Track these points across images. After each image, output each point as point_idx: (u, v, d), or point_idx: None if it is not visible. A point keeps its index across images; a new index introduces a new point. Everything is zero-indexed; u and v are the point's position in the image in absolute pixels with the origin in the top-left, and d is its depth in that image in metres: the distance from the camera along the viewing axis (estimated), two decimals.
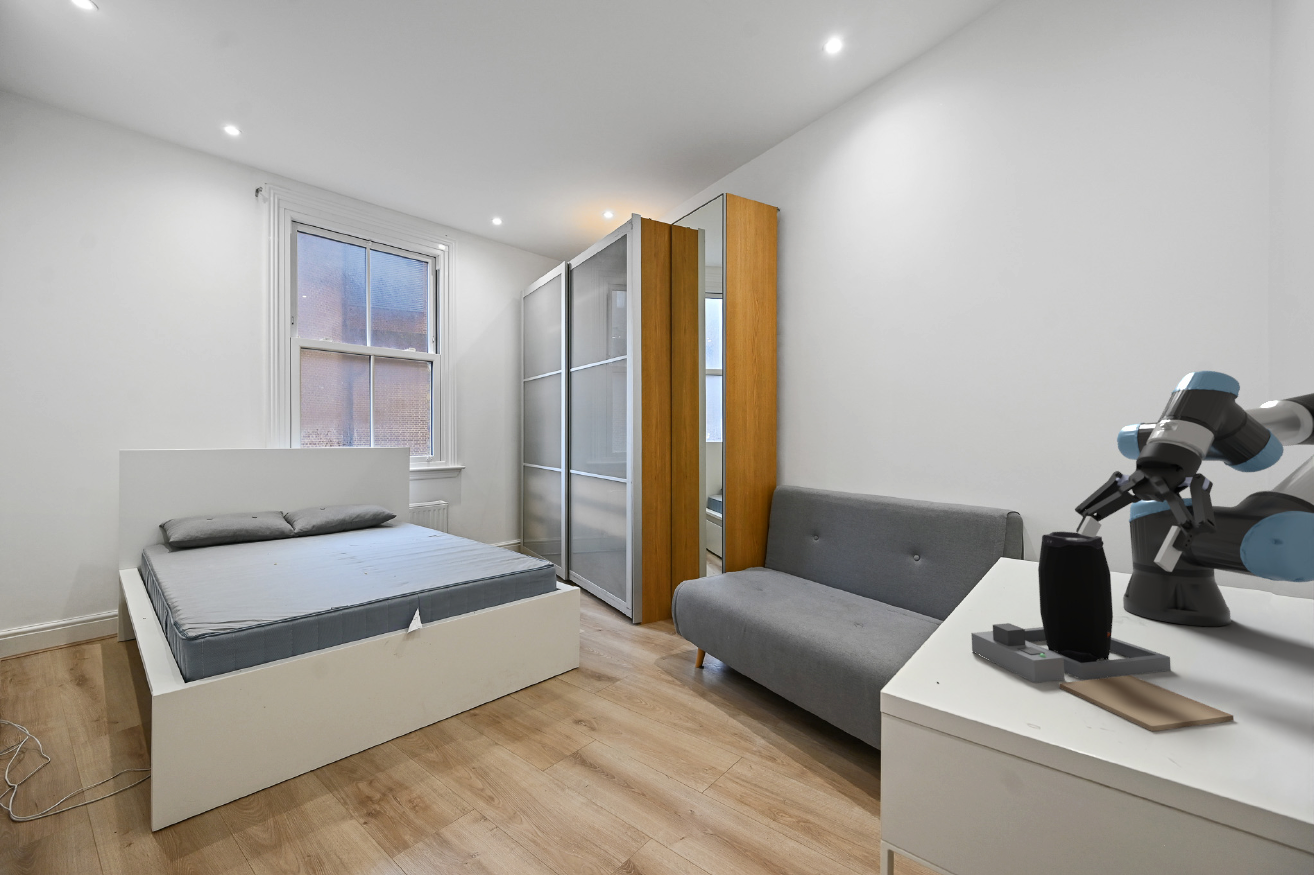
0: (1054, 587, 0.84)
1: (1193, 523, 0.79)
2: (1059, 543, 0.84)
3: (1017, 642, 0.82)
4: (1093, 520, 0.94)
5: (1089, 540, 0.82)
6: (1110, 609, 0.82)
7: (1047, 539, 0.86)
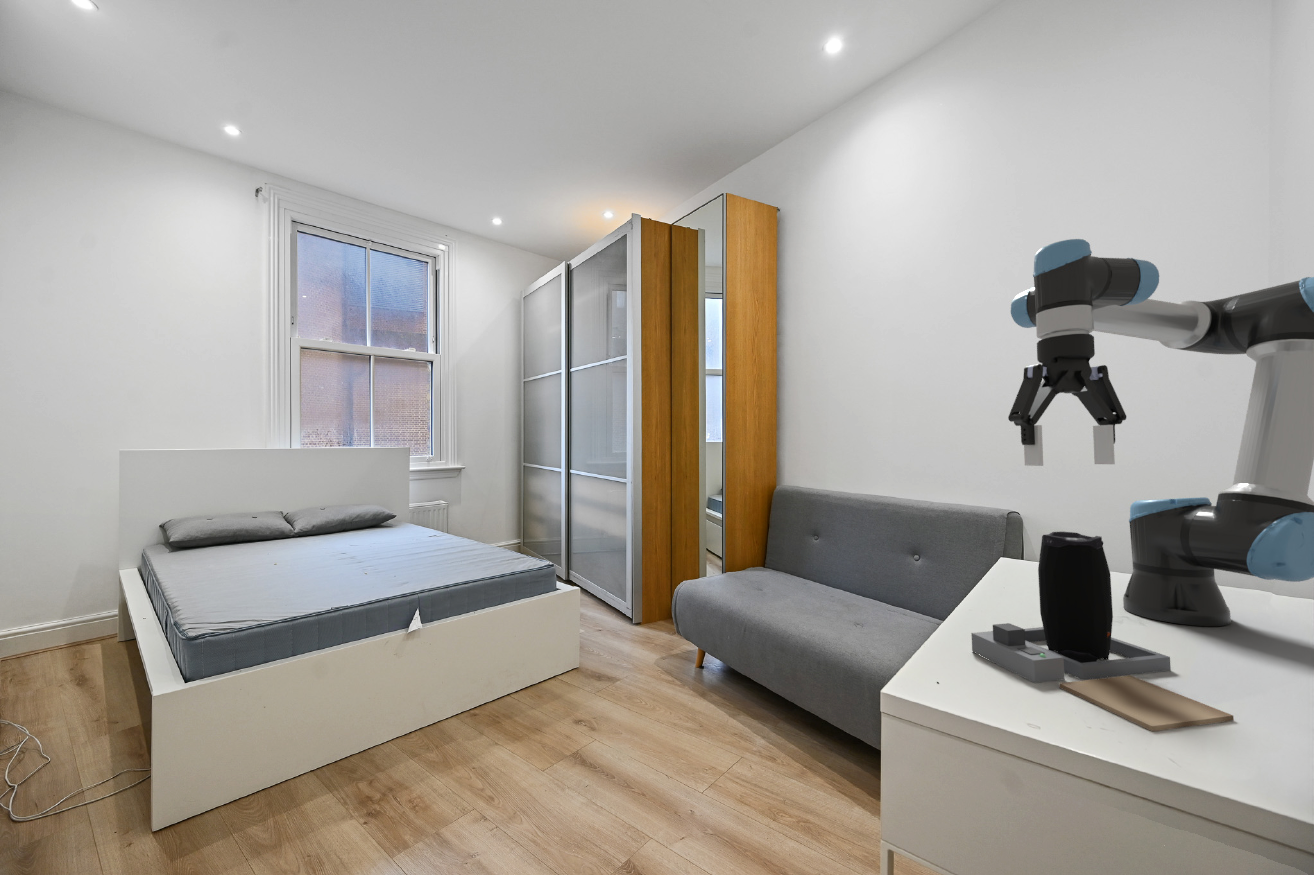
0: (1054, 587, 0.84)
1: None
2: (1059, 543, 0.84)
3: (1017, 642, 0.82)
4: (1097, 427, 0.88)
5: (1089, 540, 0.82)
6: (1110, 609, 0.82)
7: (1046, 539, 0.86)
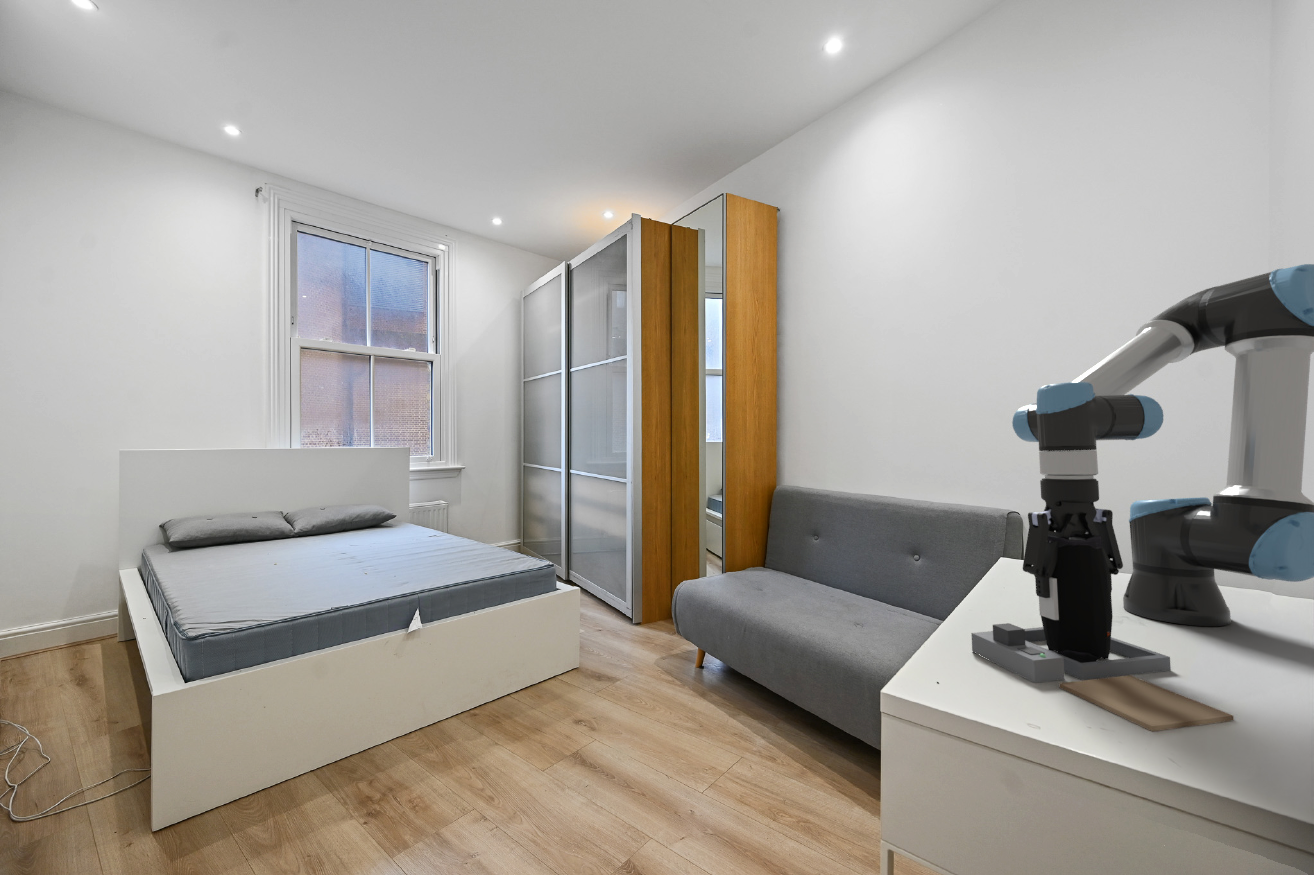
0: None
1: None
2: (1058, 543, 0.84)
3: (1017, 642, 0.82)
4: None
5: (1088, 540, 0.82)
6: (1110, 609, 0.82)
7: None
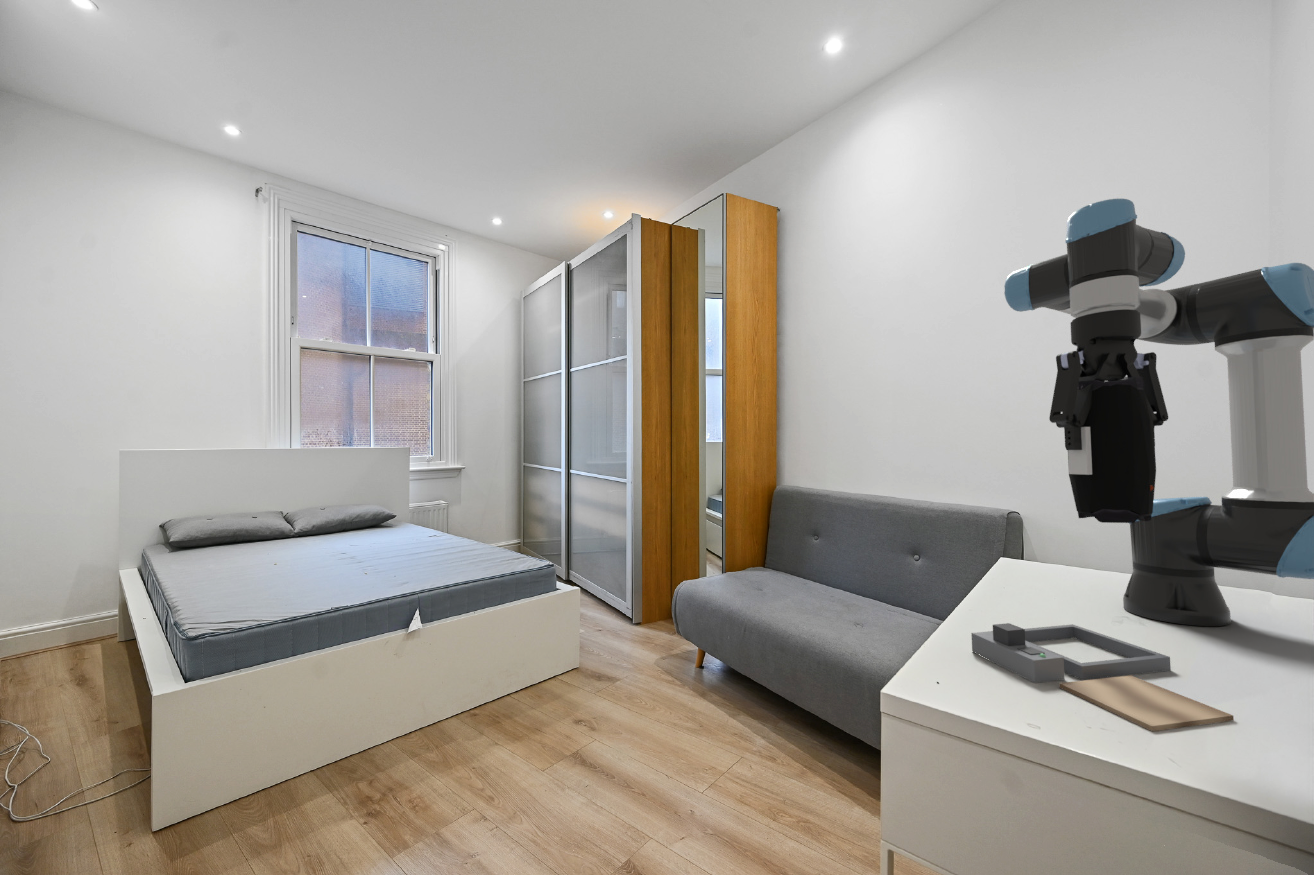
0: None
1: None
2: (1092, 386, 0.72)
3: (1017, 642, 0.82)
4: None
5: (1128, 379, 0.70)
6: (1153, 459, 0.70)
7: None
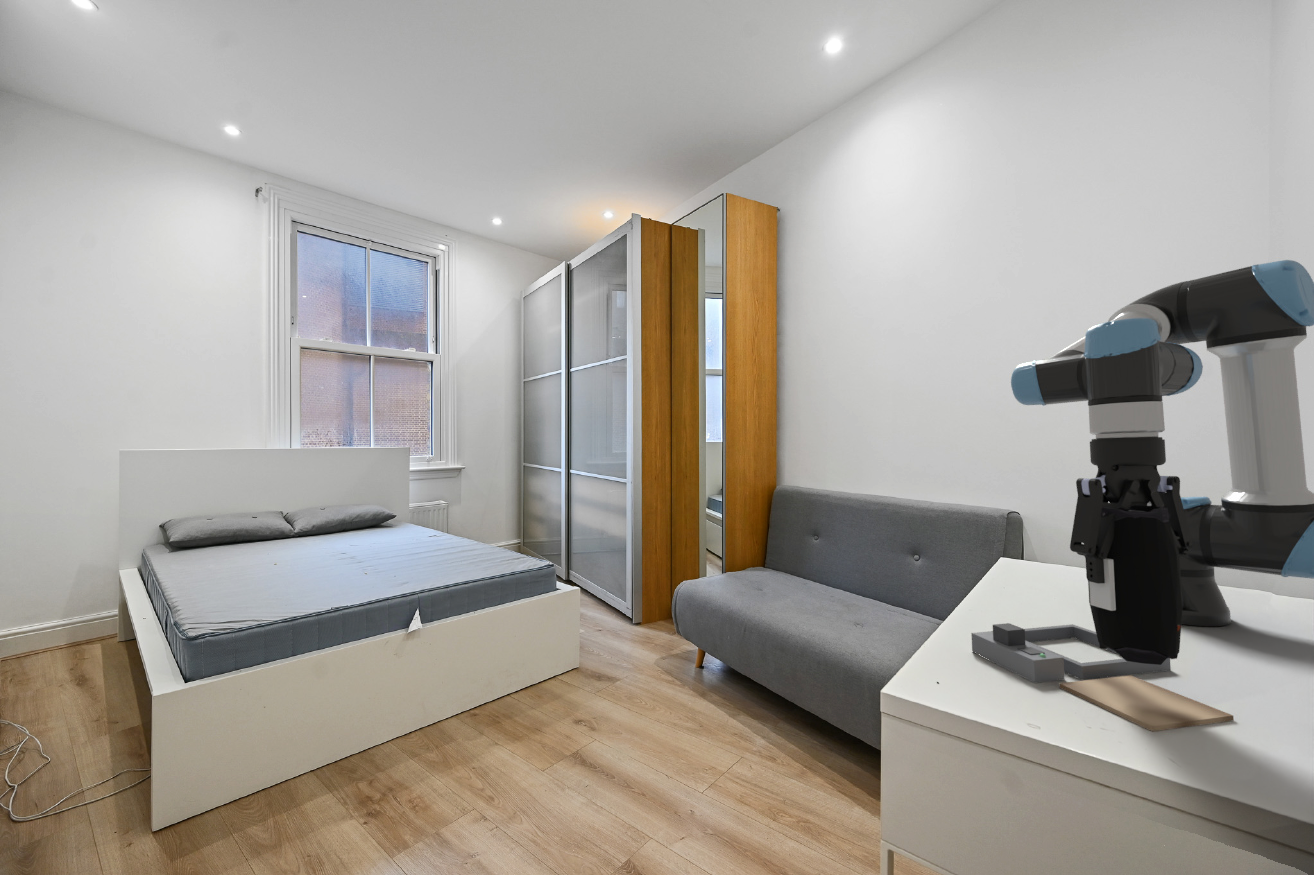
0: None
1: None
2: (1115, 516, 0.68)
3: (1017, 642, 0.82)
4: None
5: (1153, 511, 0.66)
6: (1180, 597, 0.66)
7: None
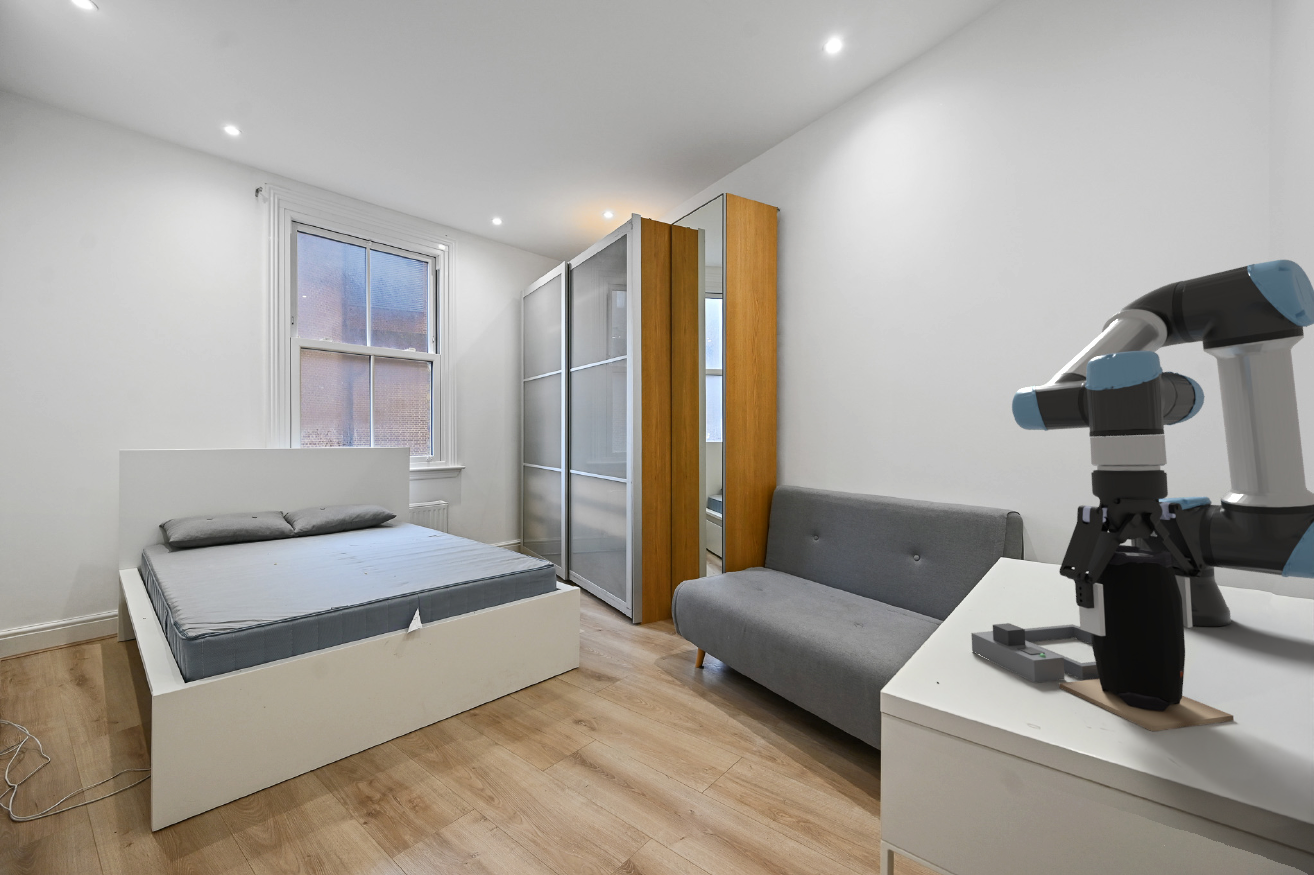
0: (1112, 614, 0.68)
1: None
2: (1118, 560, 0.68)
3: (1017, 642, 0.82)
4: None
5: (1156, 557, 0.66)
6: (1183, 643, 0.66)
7: None
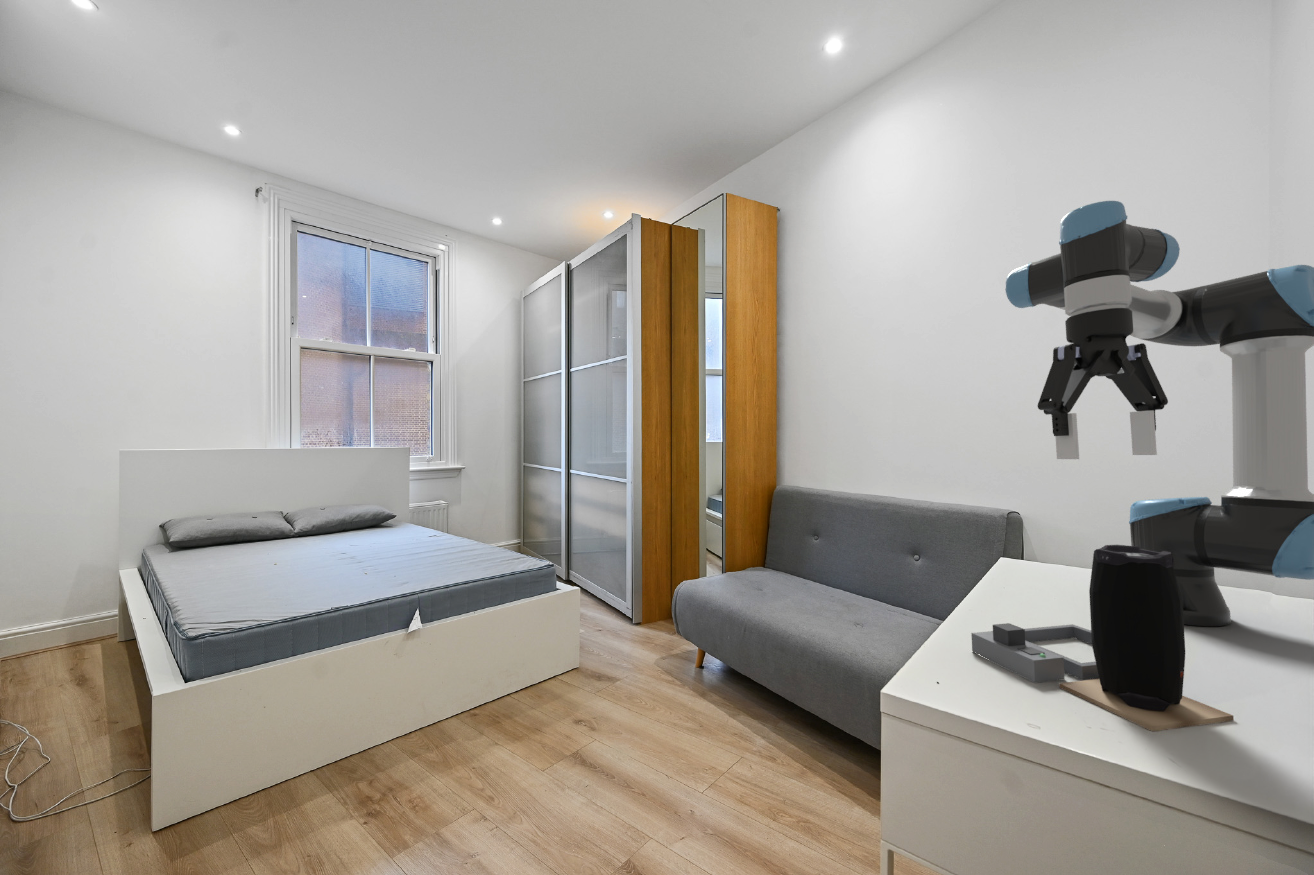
0: (1112, 614, 0.68)
1: None
2: (1118, 560, 0.68)
3: (1017, 642, 0.82)
4: (1135, 413, 0.78)
5: (1157, 557, 0.66)
6: (1183, 643, 0.66)
7: (1101, 555, 0.70)
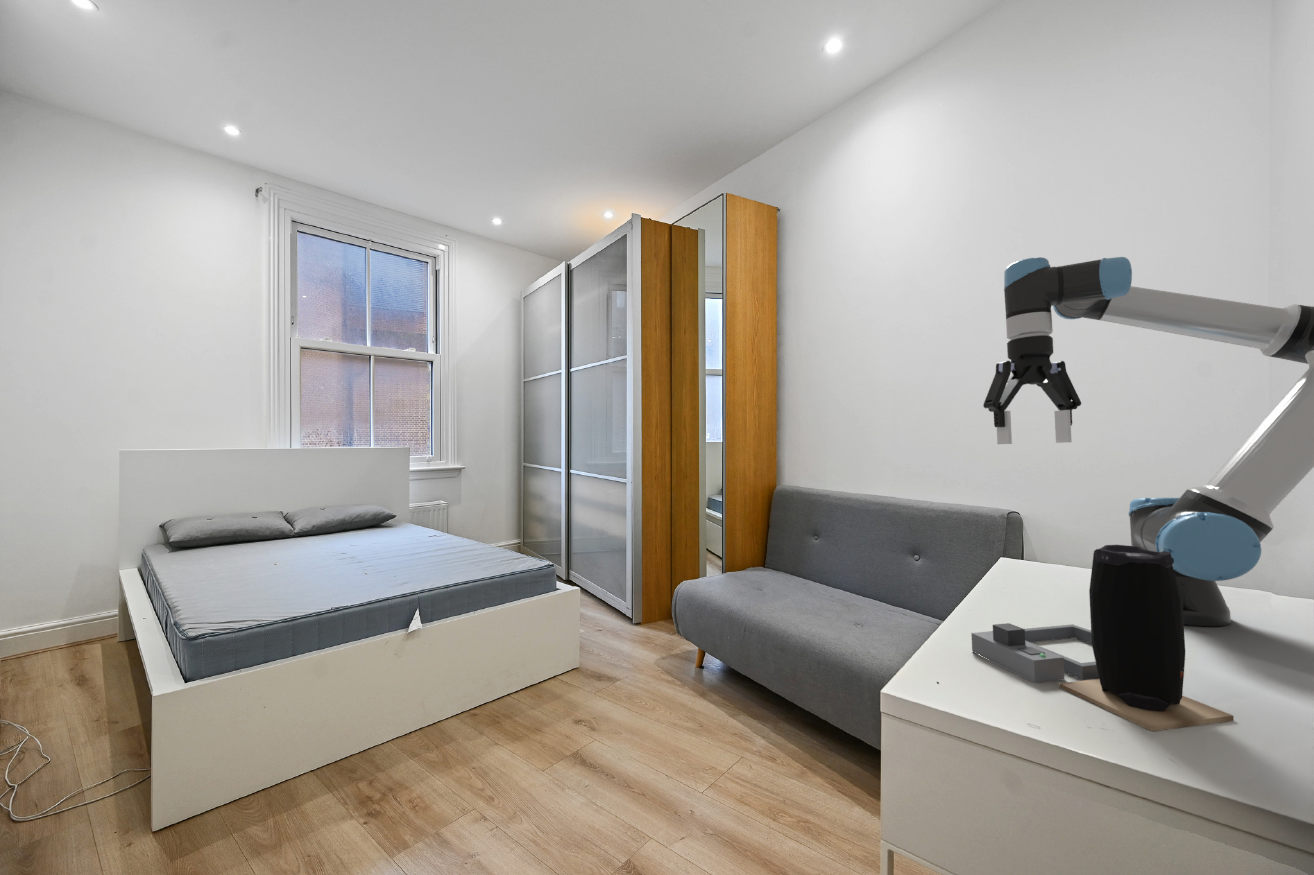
0: (1112, 614, 0.68)
1: None
2: (1118, 560, 0.68)
3: (1017, 642, 0.82)
4: (1058, 412, 1.07)
5: (1157, 557, 0.66)
6: (1183, 643, 0.66)
7: (1101, 555, 0.70)
